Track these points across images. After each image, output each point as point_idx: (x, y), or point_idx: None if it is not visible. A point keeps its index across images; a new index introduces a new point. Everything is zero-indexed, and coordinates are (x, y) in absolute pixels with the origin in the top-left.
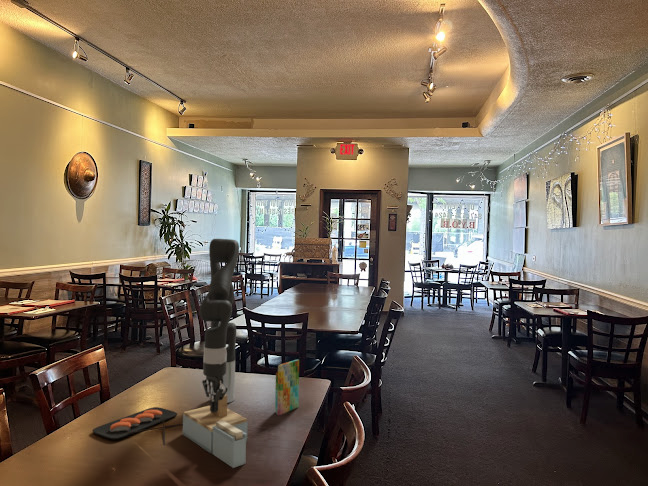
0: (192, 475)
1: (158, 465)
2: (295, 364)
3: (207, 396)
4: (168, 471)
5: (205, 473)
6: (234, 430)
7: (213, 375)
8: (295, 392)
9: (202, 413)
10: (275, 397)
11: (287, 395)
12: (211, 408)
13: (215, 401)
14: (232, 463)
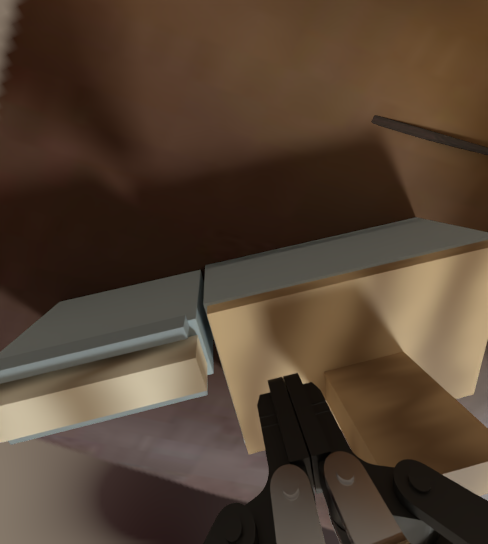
0: (37, 148)
1: (191, 24)
2: None
3: (402, 470)
4: (109, 53)
5: (42, 203)
6: (16, 415)
7: None
8: None
9: (422, 318)
10: None
11: None
12: (284, 397)
13: (267, 488)
14: (57, 307)
